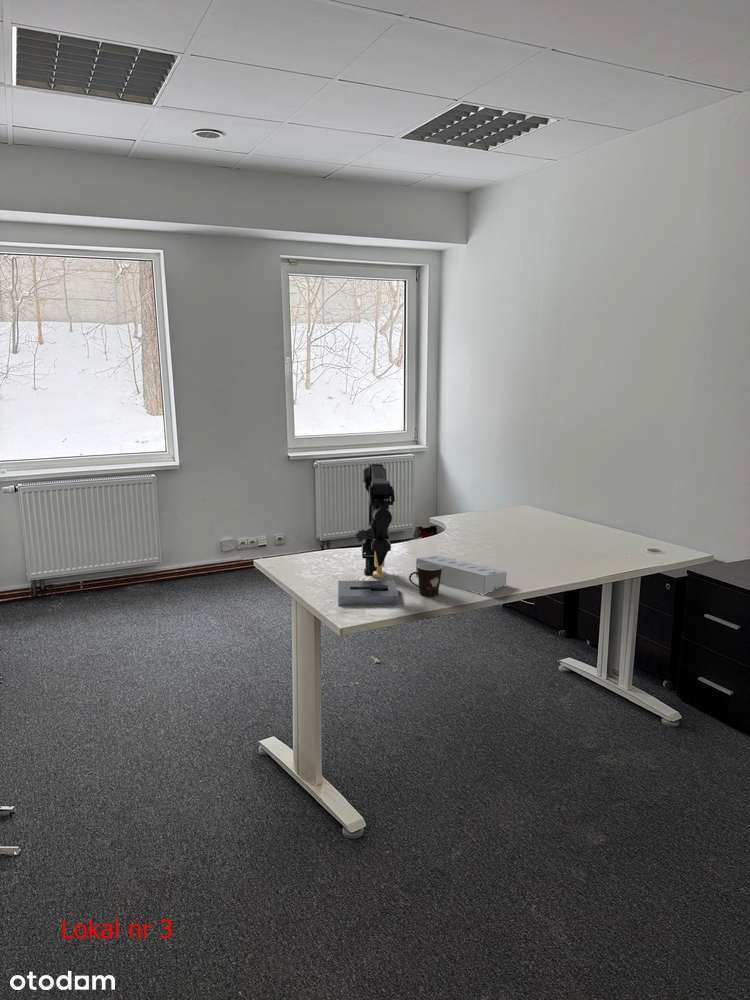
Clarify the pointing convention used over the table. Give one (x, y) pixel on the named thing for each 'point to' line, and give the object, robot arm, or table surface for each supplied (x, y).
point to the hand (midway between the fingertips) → (379, 564)
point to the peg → (379, 569)
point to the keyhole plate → (367, 593)
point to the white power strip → (466, 574)
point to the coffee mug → (428, 578)
